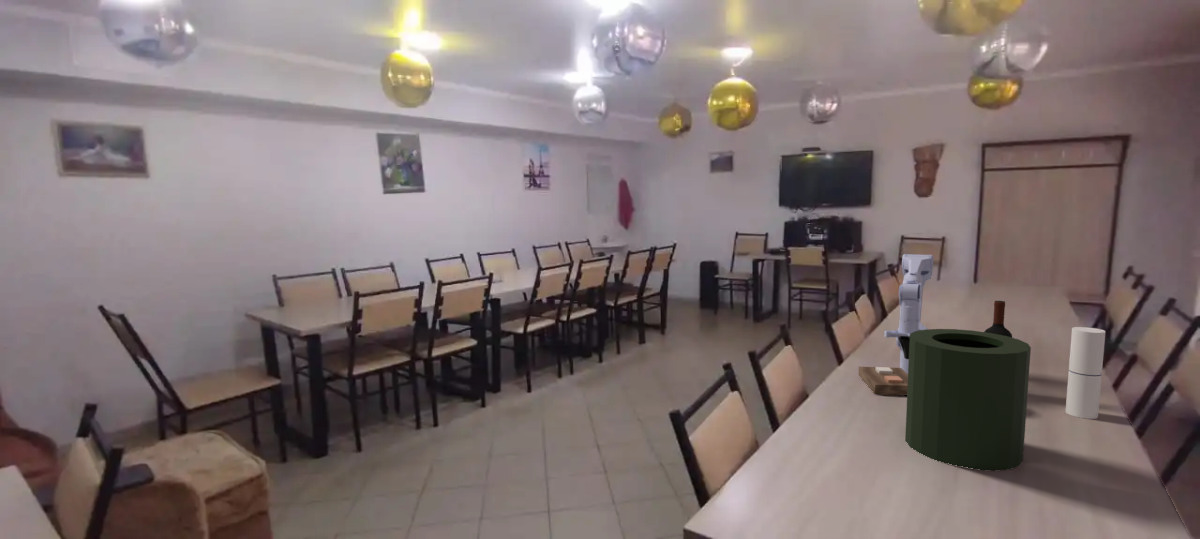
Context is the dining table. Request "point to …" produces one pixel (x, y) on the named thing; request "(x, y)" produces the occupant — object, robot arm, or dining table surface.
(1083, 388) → the cylindrical container
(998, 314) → the wine bottle
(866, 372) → the key panel
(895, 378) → the salmon orange square block
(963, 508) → the dining table surface
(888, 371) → the off white key
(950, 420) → the flower pot
